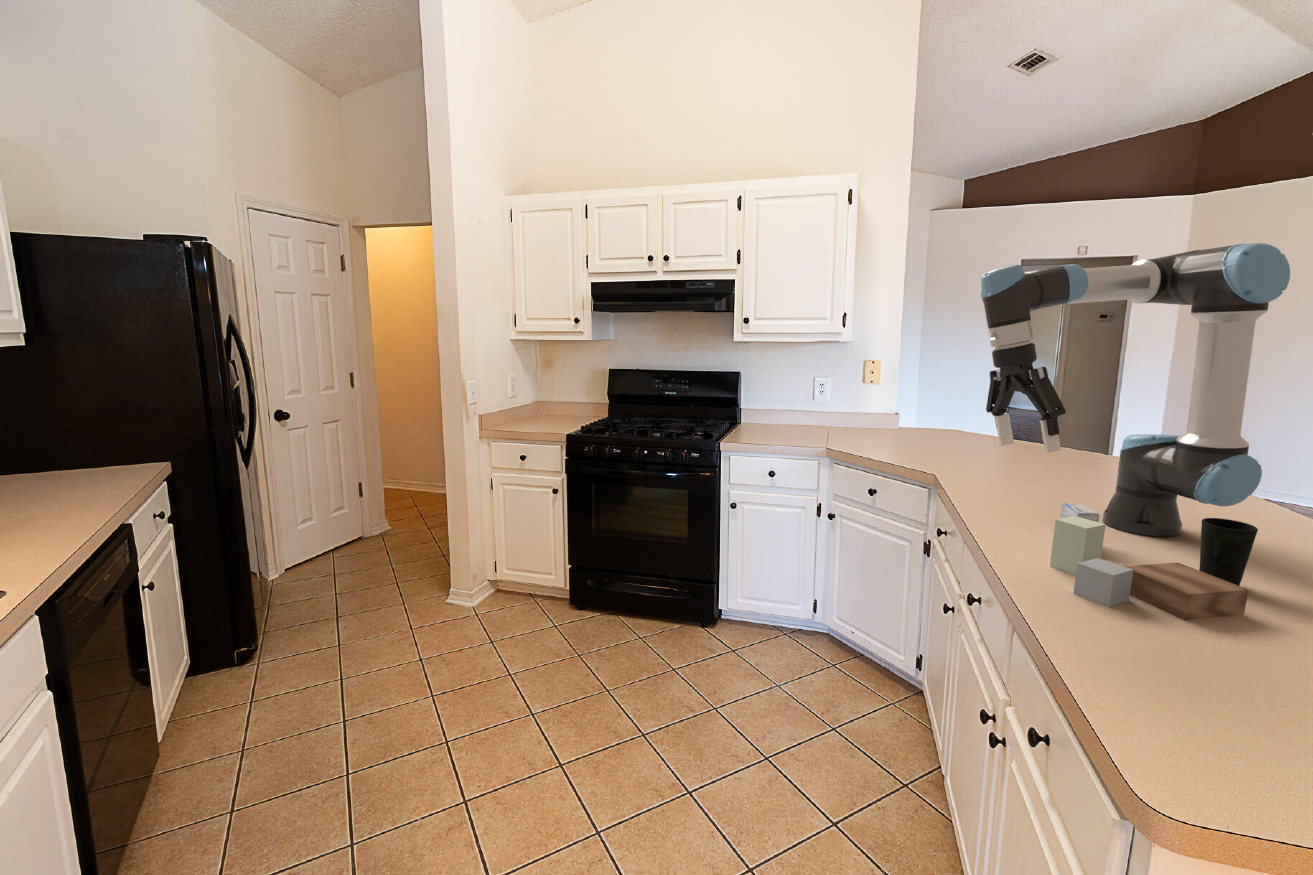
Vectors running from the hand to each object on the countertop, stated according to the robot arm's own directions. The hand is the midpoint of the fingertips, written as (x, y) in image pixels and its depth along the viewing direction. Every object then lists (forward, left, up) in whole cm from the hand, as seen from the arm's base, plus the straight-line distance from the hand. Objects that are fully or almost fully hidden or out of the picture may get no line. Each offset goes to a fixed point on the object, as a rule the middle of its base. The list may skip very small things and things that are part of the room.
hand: (1028, 448), depth 123 cm
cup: (-29, +18, -24) cm, 41 cm away
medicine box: (-20, -5, -24) cm, 32 cm away
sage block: (-8, +7, -24) cm, 26 cm away
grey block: (-2, +19, -24) cm, 31 cm away
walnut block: (-14, +23, -24) cm, 36 cm away
